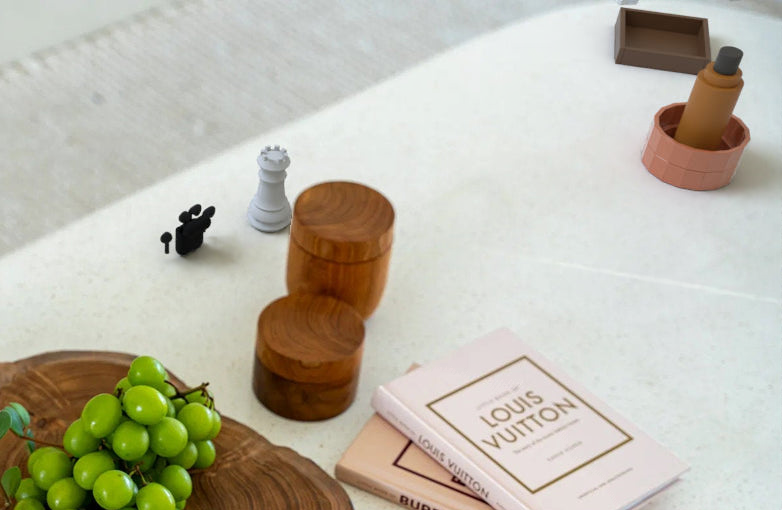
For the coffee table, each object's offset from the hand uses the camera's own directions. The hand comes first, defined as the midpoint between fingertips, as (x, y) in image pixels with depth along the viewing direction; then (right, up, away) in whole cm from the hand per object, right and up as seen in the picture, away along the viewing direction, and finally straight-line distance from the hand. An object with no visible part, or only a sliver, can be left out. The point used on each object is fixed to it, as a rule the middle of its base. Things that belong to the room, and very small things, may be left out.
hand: (679, 0), depth 98 cm
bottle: (+11, -9, +23) cm, 27 cm away
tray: (+15, +8, +39) cm, 43 cm away
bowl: (+11, -10, +23) cm, 27 cm away
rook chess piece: (-34, -16, +16) cm, 41 cm away
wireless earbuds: (-42, -20, +13) cm, 48 cm away
